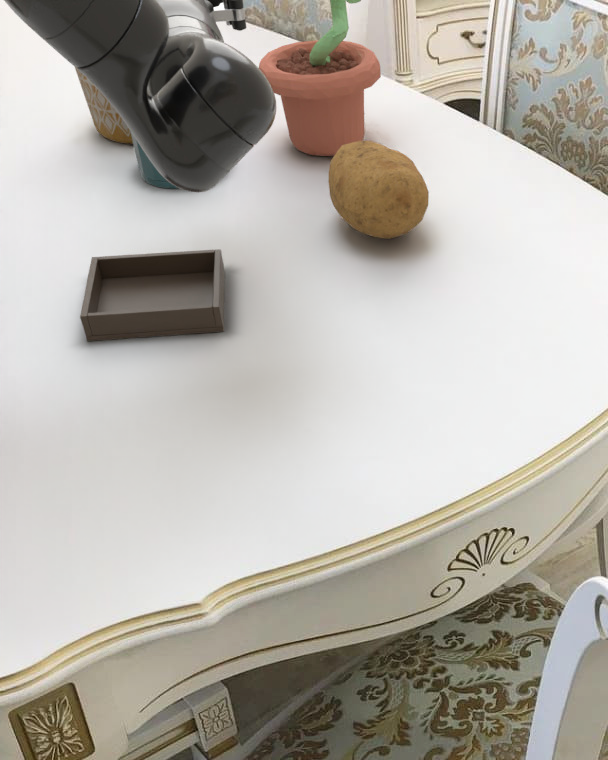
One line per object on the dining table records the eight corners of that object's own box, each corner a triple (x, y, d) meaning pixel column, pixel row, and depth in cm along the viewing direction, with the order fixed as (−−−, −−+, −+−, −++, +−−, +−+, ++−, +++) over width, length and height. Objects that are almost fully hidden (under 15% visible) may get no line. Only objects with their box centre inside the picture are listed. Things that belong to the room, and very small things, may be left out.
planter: (71, 125, 134) (46, 31, 127) (164, 100, 140) (146, 9, 133) (120, 159, 128) (97, 62, 120) (216, 131, 134) (200, 37, 126)
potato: (391, 193, 123) (386, 119, 117) (451, 246, 114) (449, 168, 109) (309, 212, 119) (301, 136, 113) (365, 268, 111) (359, 189, 105)
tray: (87, 341, 101) (79, 316, 99) (98, 281, 108) (91, 256, 106) (223, 331, 102) (219, 307, 100) (225, 272, 110) (220, 248, 108)
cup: (138, 191, 122) (125, 135, 118) (143, 157, 128) (131, 103, 124) (221, 186, 123) (212, 131, 119) (222, 153, 129) (213, 99, 125)
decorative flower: (308, 111, 138) (274, -183, 117) (408, 128, 135) (393, -171, 114) (246, 157, 129) (197, -155, 107) (353, 177, 125) (324, -141, 104)
